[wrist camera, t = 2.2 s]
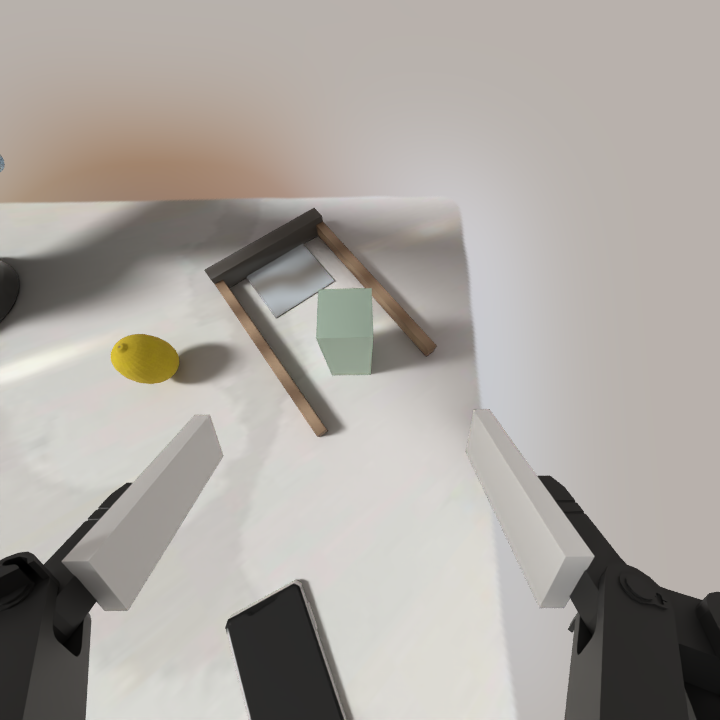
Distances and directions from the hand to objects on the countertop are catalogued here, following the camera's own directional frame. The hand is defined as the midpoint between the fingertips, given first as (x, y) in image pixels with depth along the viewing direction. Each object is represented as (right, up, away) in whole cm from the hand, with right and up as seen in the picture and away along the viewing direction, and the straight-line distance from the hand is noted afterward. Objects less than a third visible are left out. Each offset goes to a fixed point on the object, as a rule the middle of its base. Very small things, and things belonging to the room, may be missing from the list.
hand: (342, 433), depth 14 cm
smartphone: (-6, -27, +12) cm, 30 cm away
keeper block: (0, +4, +22) cm, 22 cm away
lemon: (-24, +2, +22) cm, 33 cm away
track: (-5, +10, +24) cm, 27 cm away
